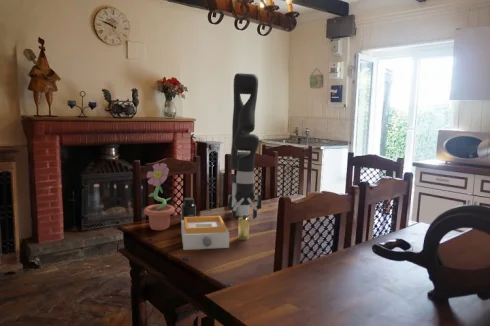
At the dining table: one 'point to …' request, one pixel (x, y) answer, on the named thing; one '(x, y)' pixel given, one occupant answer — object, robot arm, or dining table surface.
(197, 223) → the white box with knob
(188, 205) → the supplement bottle
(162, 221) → the decorative flower
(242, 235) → the oil can
